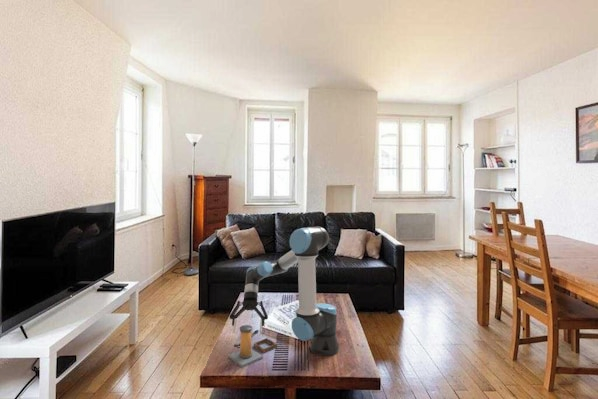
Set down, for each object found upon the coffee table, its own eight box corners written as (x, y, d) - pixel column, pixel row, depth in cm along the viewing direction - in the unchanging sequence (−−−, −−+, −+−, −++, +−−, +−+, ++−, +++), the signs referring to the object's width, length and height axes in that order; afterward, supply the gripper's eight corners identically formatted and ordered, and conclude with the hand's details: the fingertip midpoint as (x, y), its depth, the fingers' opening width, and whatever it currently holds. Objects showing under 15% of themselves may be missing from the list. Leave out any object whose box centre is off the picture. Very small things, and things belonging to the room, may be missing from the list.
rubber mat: (262, 358, 160) (262, 356, 160) (242, 367, 152) (242, 365, 152) (248, 349, 169) (248, 347, 169) (228, 357, 160) (228, 355, 160)
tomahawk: (243, 351, 168) (243, 349, 168) (233, 347, 171) (233, 345, 171) (265, 334, 187) (265, 332, 187) (256, 331, 190) (256, 329, 190)
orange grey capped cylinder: (254, 355, 160) (254, 328, 160) (244, 360, 156) (244, 331, 156) (247, 351, 165) (247, 324, 164) (237, 355, 160) (237, 327, 160)
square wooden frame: (277, 347, 171) (277, 343, 171) (264, 352, 165) (264, 349, 165) (266, 341, 178) (266, 337, 178) (253, 346, 172) (253, 343, 172)
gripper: (273, 296, 185) (271, 334, 171) (229, 296, 184) (224, 334, 170) (273, 290, 180) (271, 329, 165) (227, 290, 179) (222, 329, 165)
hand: (247, 332), depth 168 cm, fingers open, 13 cm apart
